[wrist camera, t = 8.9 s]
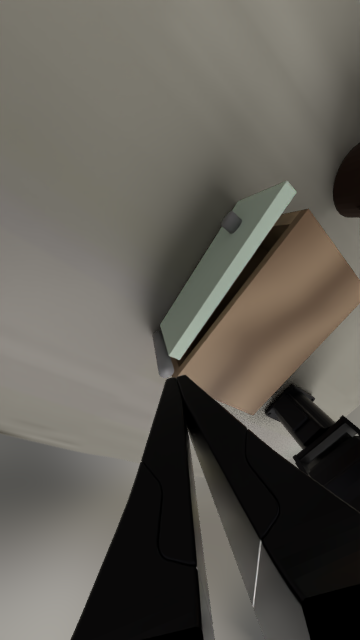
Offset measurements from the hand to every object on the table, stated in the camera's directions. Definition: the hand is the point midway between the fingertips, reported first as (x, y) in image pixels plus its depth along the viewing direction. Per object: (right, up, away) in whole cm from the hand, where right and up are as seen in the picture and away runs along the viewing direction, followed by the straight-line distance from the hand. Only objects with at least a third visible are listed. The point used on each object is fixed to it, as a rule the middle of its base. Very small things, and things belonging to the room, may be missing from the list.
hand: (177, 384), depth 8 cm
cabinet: (+7, +4, +13) cm, 15 cm away
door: (+1, +7, +10) cm, 12 cm away
